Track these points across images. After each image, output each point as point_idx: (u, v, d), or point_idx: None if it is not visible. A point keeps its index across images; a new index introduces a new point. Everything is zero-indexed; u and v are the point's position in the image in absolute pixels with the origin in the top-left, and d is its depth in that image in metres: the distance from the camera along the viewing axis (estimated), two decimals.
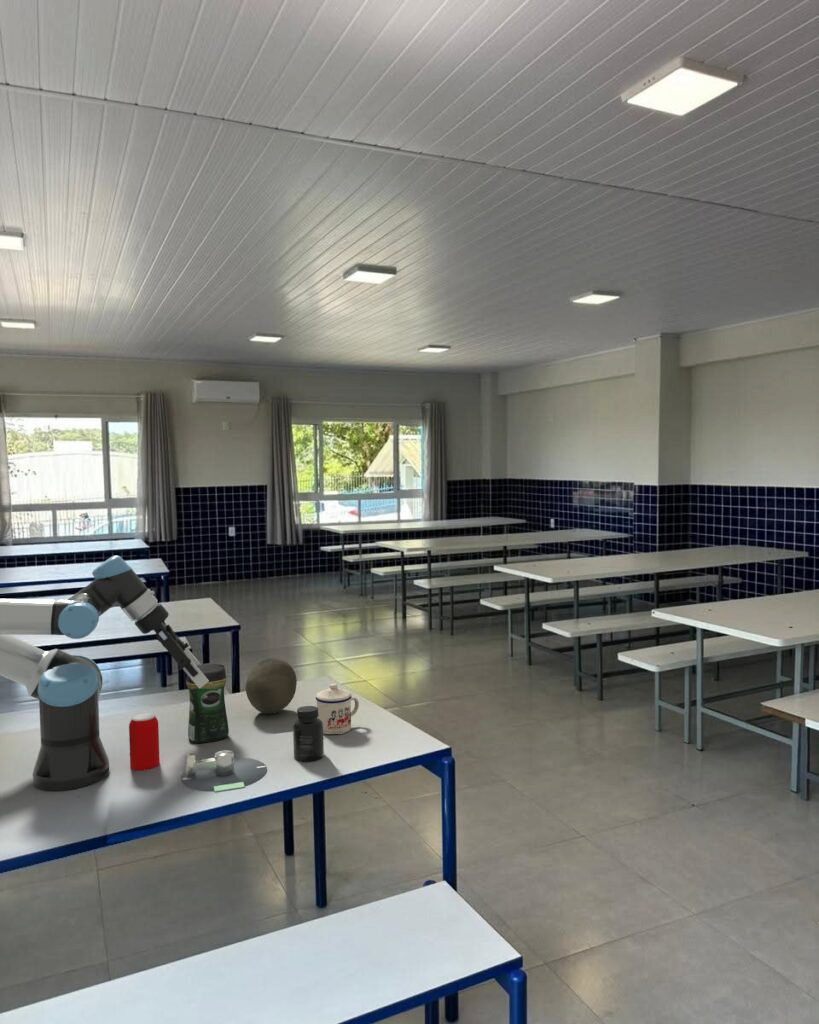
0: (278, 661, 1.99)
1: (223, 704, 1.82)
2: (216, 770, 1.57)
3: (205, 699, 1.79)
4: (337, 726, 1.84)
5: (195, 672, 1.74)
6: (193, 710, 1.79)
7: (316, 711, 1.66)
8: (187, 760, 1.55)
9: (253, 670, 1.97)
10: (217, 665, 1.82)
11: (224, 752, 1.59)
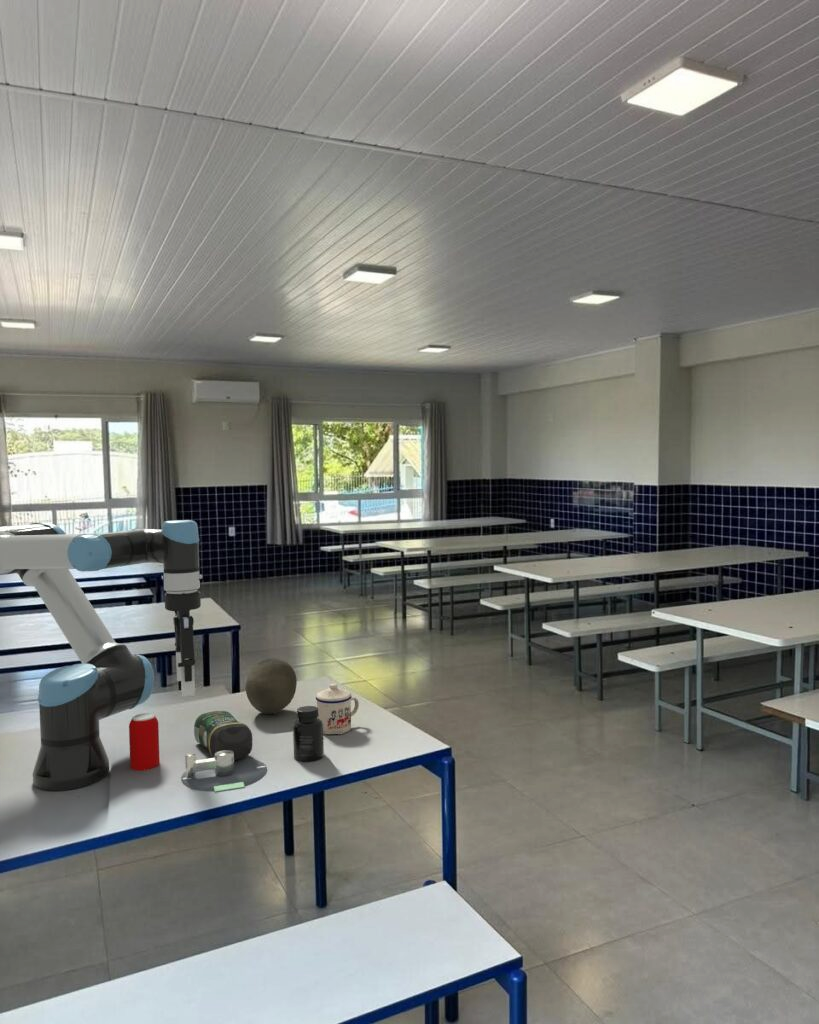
0: (278, 661, 1.99)
1: None
2: (216, 770, 1.57)
3: None
4: (337, 726, 1.84)
5: (190, 678, 1.55)
6: (205, 745, 1.71)
7: (316, 711, 1.66)
8: (187, 760, 1.55)
9: (253, 670, 1.97)
10: (245, 749, 1.65)
11: (224, 752, 1.59)
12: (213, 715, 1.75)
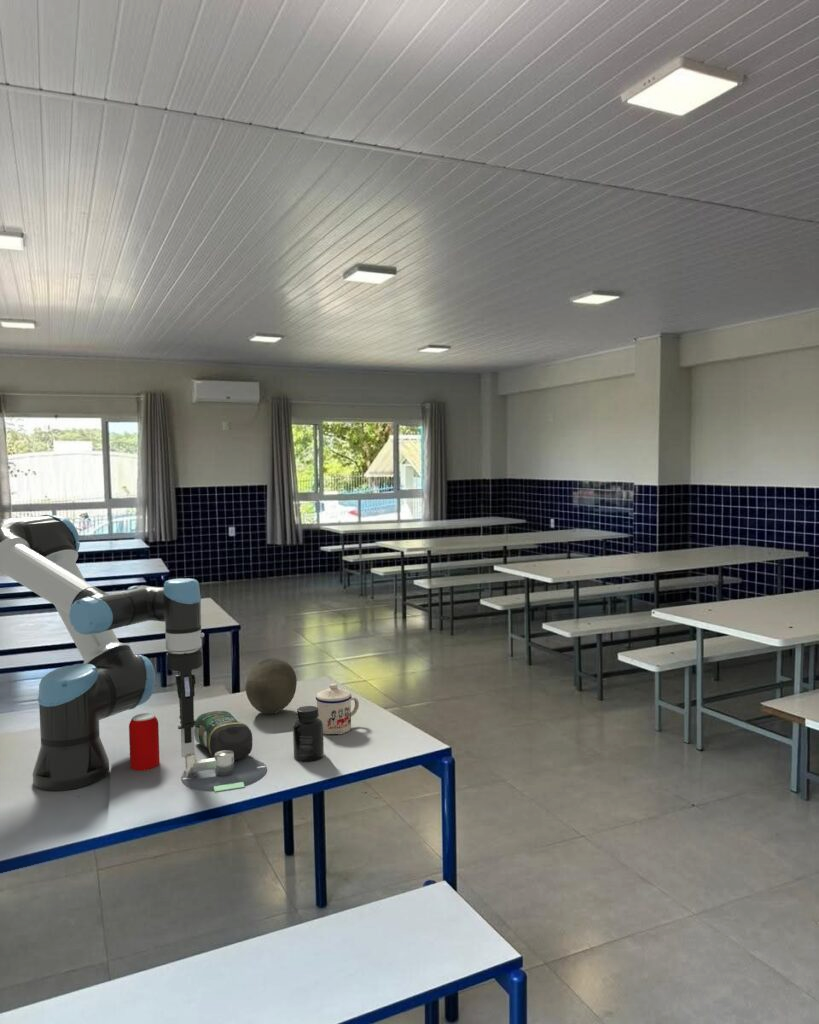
0: (278, 661, 1.99)
1: None
2: (216, 770, 1.57)
3: None
4: (337, 726, 1.84)
5: (190, 739, 1.61)
6: (205, 745, 1.71)
7: (316, 711, 1.66)
8: (187, 760, 1.55)
9: (253, 670, 1.97)
10: (245, 749, 1.65)
11: (224, 752, 1.59)
12: (213, 715, 1.75)
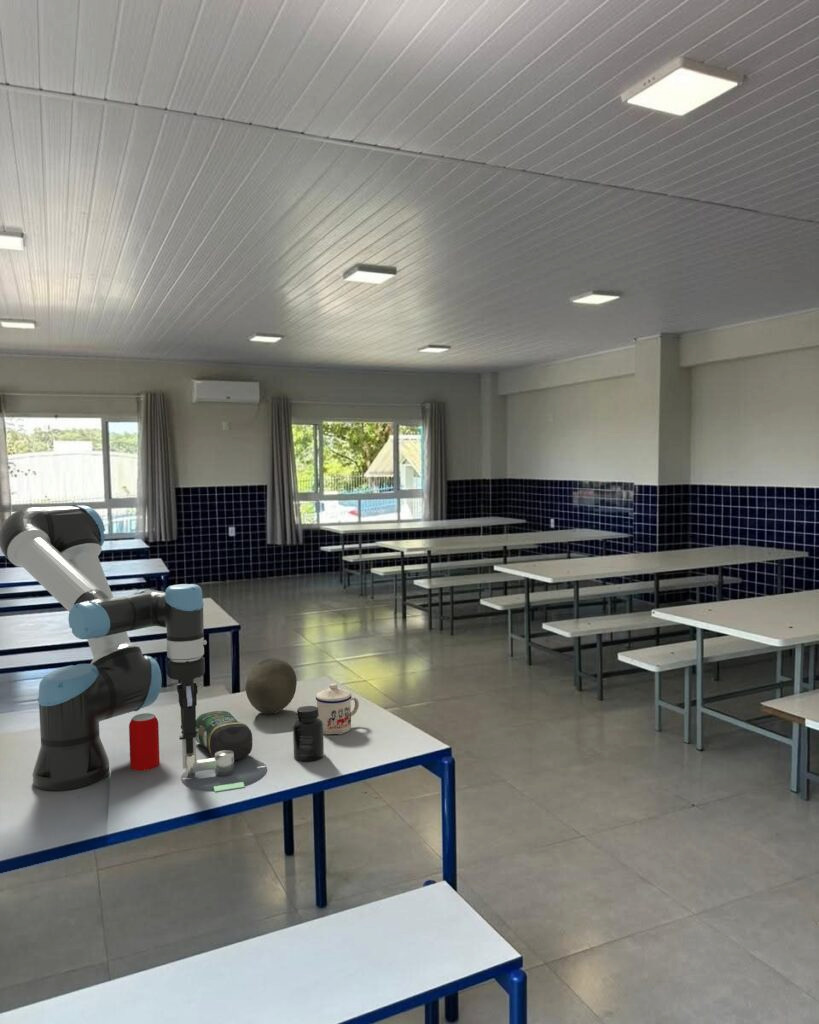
0: (278, 661, 1.99)
1: None
2: (216, 770, 1.57)
3: None
4: (337, 726, 1.84)
5: (191, 750, 1.56)
6: (205, 745, 1.71)
7: (316, 711, 1.66)
8: (187, 760, 1.55)
9: (253, 670, 1.97)
10: (245, 749, 1.65)
11: (224, 752, 1.59)
12: (213, 715, 1.75)
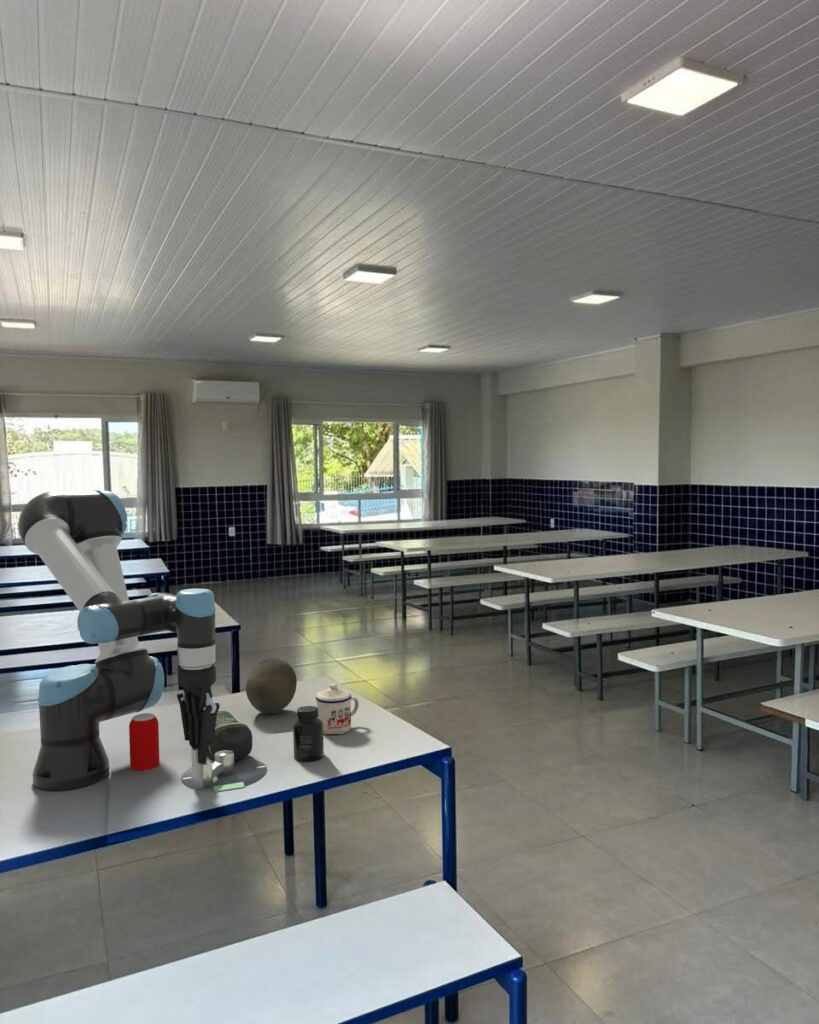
0: (278, 661, 1.99)
1: None
2: (223, 771, 1.57)
3: None
4: (337, 726, 1.84)
5: (205, 759, 1.52)
6: None
7: (316, 711, 1.66)
8: (208, 768, 1.51)
9: (253, 670, 1.97)
10: (245, 749, 1.65)
11: (220, 752, 1.59)
12: None
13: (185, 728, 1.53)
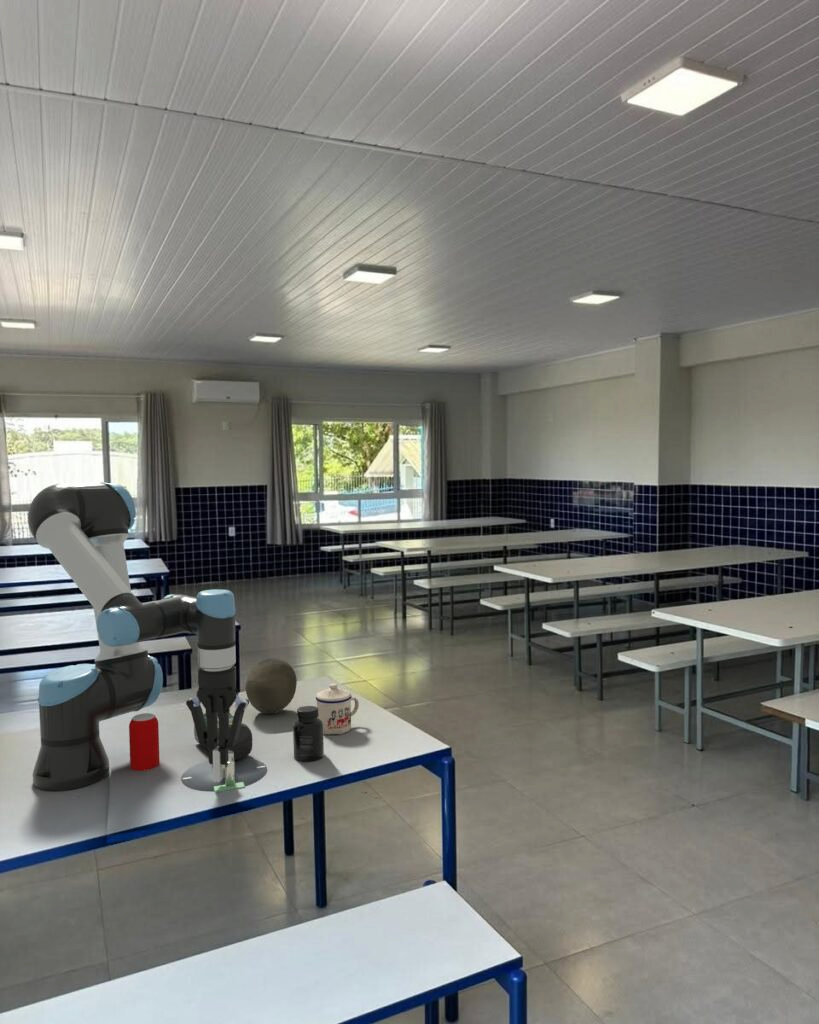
0: (278, 661, 1.99)
1: None
2: None
3: None
4: (337, 726, 1.84)
5: (227, 759, 1.52)
6: None
7: (316, 711, 1.66)
8: (233, 766, 1.52)
9: (253, 670, 1.97)
10: (245, 749, 1.65)
11: None
12: None
13: (201, 733, 1.50)
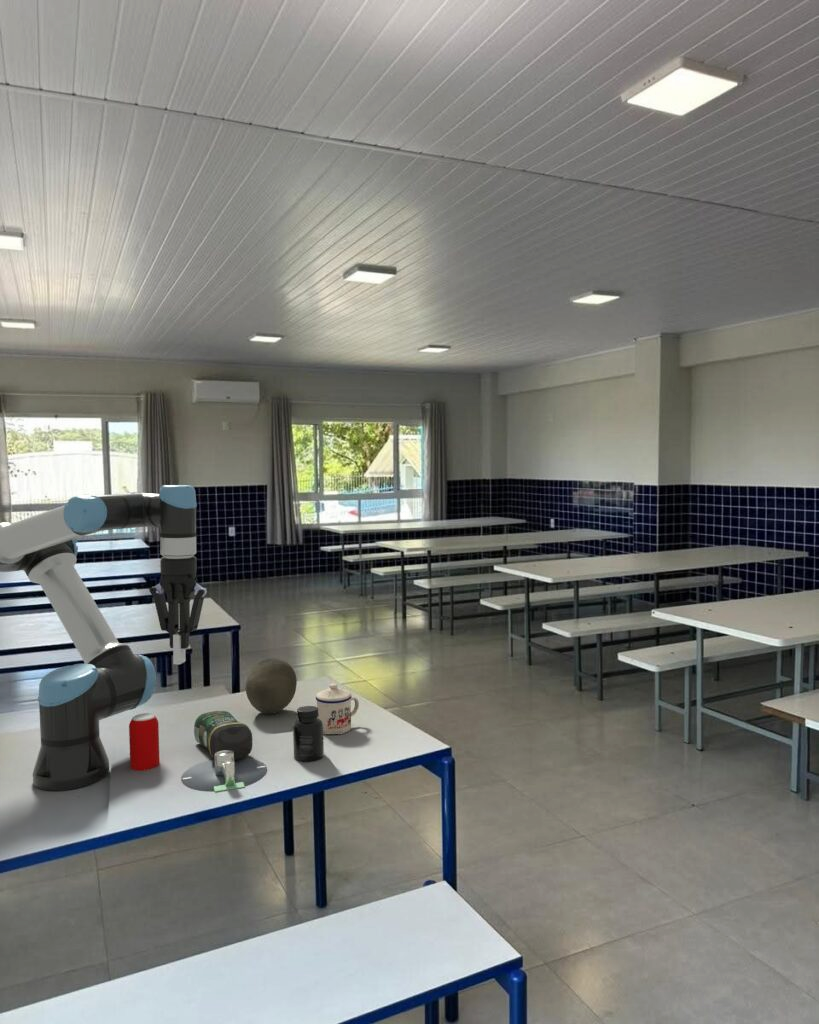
0: (278, 661, 1.99)
1: None
2: None
3: None
4: (337, 726, 1.84)
5: (188, 644, 1.62)
6: (205, 745, 1.71)
7: (316, 711, 1.66)
8: (233, 766, 1.52)
9: (253, 670, 1.97)
10: (245, 749, 1.65)
11: (219, 753, 1.58)
12: (213, 715, 1.75)
13: (162, 619, 1.61)
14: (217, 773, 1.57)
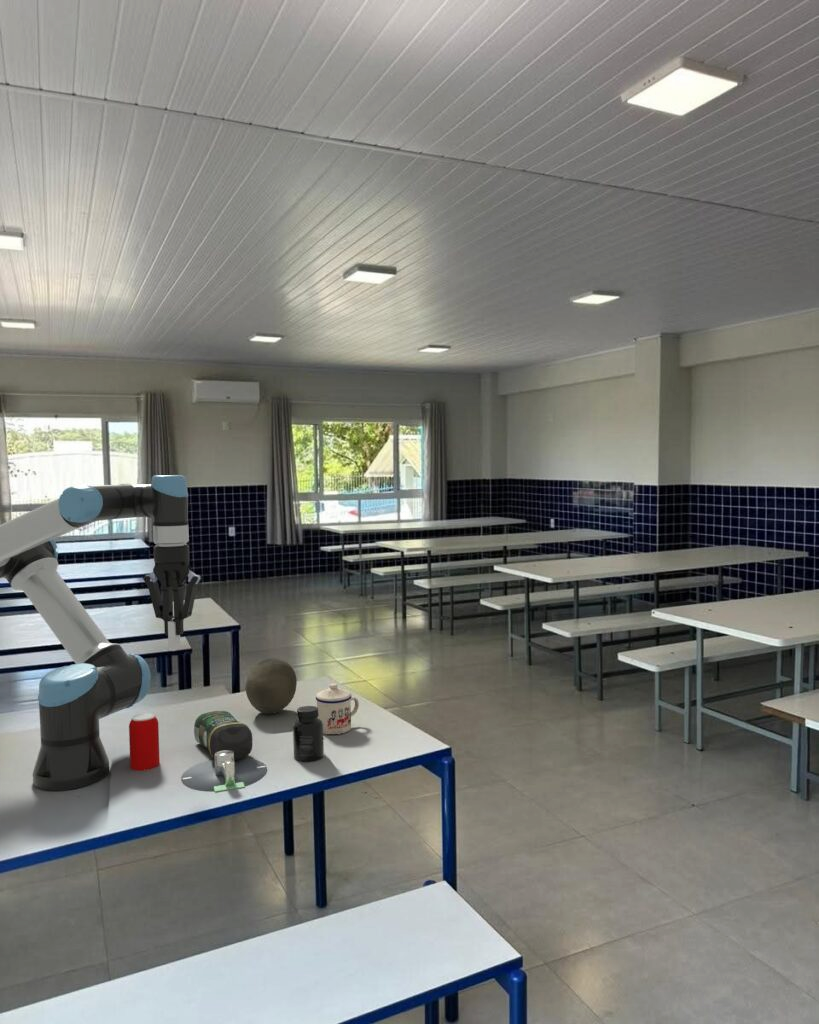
0: (278, 661, 1.99)
1: None
2: None
3: None
4: (337, 726, 1.84)
5: (182, 631, 1.65)
6: (205, 745, 1.71)
7: (316, 711, 1.66)
8: (233, 766, 1.52)
9: (253, 670, 1.97)
10: (245, 749, 1.65)
11: (219, 753, 1.58)
12: (213, 715, 1.75)
13: (157, 606, 1.64)
14: (217, 773, 1.57)
